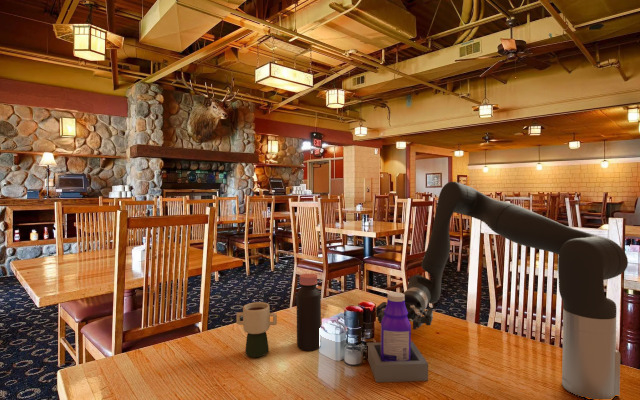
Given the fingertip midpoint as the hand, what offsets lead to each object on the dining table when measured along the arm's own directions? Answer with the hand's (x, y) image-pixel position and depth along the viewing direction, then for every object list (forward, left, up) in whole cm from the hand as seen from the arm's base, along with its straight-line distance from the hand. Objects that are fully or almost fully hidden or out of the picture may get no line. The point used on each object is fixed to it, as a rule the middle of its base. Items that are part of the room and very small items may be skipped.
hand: (397, 322), depth 90 cm
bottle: (+1, +1, -10) cm, 10 cm away
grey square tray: (+1, +1, -11) cm, 11 cm away
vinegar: (+22, -13, -11) cm, 28 cm away
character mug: (+36, -9, -11) cm, 38 cm away
